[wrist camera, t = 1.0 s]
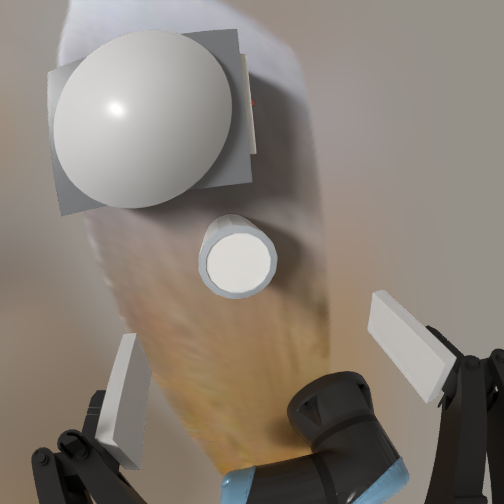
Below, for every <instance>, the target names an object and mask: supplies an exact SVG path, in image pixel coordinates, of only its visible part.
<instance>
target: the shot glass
mask: <svg viewBox="0 0 504 504" xmlns="http://www.w3.org/2000/svg"><path fill="white" fill-rule="evenodd" d="M277 258H278V257H277V254H276V250H275V247H274V244H273V243H272V241H271V240H270V239H269V238H268V237H267V236H266V235H265V233H264V232H262V231H261V230H260V229H259V228H257V227H256V226H255V225H254V224H253V223H251V222H250V221H249V220H248V219H246V218H244V217H242V216H240V215H236V214H226V215H223V216H221V217H218V218H216V219H215V220H214V221H213V222H212V223H211V224H210V225H209V227H208V229H207V231H206V233H205V236H204V240H203V243H202V247H201V250H200V254H199V273H200V275H201V277H202V279H203V282H204V284H205V285H206V286H207V287H208V288H210V289H211V290H212V291H213V292H214V293H215V294H218V295H220V296H223V297H226V298H229V299H238V298H246V297H249V296H252V295H254V294H257V293H259V292H260V291H261V290H262V289H263V288H265V287H266V286H267V285H268V284H269V283H270V281H271V279H272V277H273V276H274V274H275V272H276V266H277Z"/></svg>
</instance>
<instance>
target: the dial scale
mask: <svg viewBox="0 0 504 504" xmlns="http://www.w3.org/2000/svg"><path fill="white" fill-rule="evenodd" d="M47 91H48V93H47V96H48V124H49V137H50V148H51V157H52V165H53V173H54V179H55V185H56V191H57V196H58V201H59V206H60V211H61V216H64V215H69V214H72V213H77V212H81V211H85V210H90V209H94V208H99V207H103V206H108V205H110V206H113V207H120V208H142V207H149V206H153V205H157V204H160V203H163V202H165V201H168V200H170V199H172V198H174V197H176V196H178V195H180V194H182V193H183V192H184V191H190V190H197V189H204V188H211V187H218V186H226V185H233V184H242V183H250V182H252V172H251V161H250V154H256V144H255V133H254V123H253V113H252V107H253V106H254V100H251V93H250V84H249V74H248V65H247V55H246V54H240V52H239V42H238V33H237V29H226V30H212V31H202V32H193V33H185V34H178V33H173V32H169V31H160V30H148V31H139V32H134V33H130V34H126V35H123V36H120V37H118V38H115V39H113V40H111V41H109V42H107V43H106V44H104V45H102V46H101V47H99V48H98V49H96V50H95V51H94V52H92V53H91V54H90V55H89V56H88V57H85V58H83V59H80V60H77V61H75V62H72V63H69V64H67V65H64V66H62V67H60V68H57V69H55V70H53V71H50V72H48V89H47Z"/></svg>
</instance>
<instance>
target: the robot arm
mask: <svg viewBox="0 0 504 504" xmlns="http://www.w3.org/2000/svg"><path fill="white" fill-rule="evenodd" d="M367 330H368V332H369V333H370V334H371V335H372V336H373V338H374V339H375V340H376V341H377V342H378V344H379V345H380V346H381V347H382V349H383V350H384V351H385V352H386V353H387V355H388V356H389V357H390V358H391V360H392V361H393V362H394V363H395V365H396V366H397V367H398V368H399V369H400V371H401V372H402V373H403V375H404V376H405V377H406V378H407V379H408V381H409V382H410V383H411V385H412V386H413V387H414V388H415V390H416V391H417V392H418V394H419V395H420V396H421V397H422V399H423V400H424V401H425V403H428V402H430V401H432V400H433V399H435V398H437V397H438V394H439V393H440V391H441V389H442V391H443V392H444V395H443V397H442V399H441V401H440V402H439V404H438V408H439V407H440V405H441V404H442V413H441V423H440V431H439V438H438V445H437V451H436V457H435V462H434V467H433V472H432V476H431V481H430V485H429V489H428V493H427V496H426V500H425V503H424V504H487V503H488V500H487V497H486V496H484V495H483V494H482V489H483V481H484V473H485V463H486V451H487V457H488V464H489V471H490V479H491V491H492V504H504V350H503V349H495V350H493V351H492V353H491V355H490V357H489V358H486V359H481V360H480V359H479V358H477V357H475V356H472V355H467V356H464V355H463V354H462V353H461V352H460V351H459V350H458V349H457V348H456V347H455V346H453V345H452V344H451V343H450V342H449V341H447V339H446V338H445V337H444V336H442V334H441V333H440V332H439V331H438V330H436V329H434V328H432V327H430V326H426V327H424V326H423V325H422V324H421V323H420V322H419V321H418V320H417V319H416V318H415V317H414V316H412V315H411V314H410V313H409V312H408V311H407V310H406V309H405V308H404V307H403V306H401V305H400V304H399V303H398V302H397V301H396V300H395V299H394V298H393V297H391V296H390V295H389V294H388V293H387V292H385V290H380V291H376V292H373V295H372V303H371V310H370V316H369V322H368V328H367ZM151 371H152V370H151V367H150V365H149V363H148V360H147V358H146V356H145V353H144V351H143V348H142V346H141V343H140V341H139V338H138V335H137V333H132V334H124V335H123V338H122V341H121V344H120V347H119V350H118V353H117V357H116V360H115V363H114V366H113V369H112V373H111V376H110V380H109V383H108V387H107V390H97V391H96V393H95V394H94V395H93V396H92V398H91V401H90V404H89V408H88V411H87V416H86V418H85V422H84V426H83V429H82V433H81V432H80V431H77V430H67V431H65V432H63V433H62V434H61V435H60V437H59V438H58V443H57V445H58V449H59V450H60V451H61V452H59V453H53V452H52V451H51V450H50V449H48V448H45V447H44V448H39V449H37V450H36V451H35V452H34V453H33V455H32V461H31V462H32V469H33V475H34V480H35V485H36V490H37V495H38V499H39V503H40V504H93V502H92V499H91V497H90V495H91V496H92V498H93V499H94V500H95V502H96V503H97V504H147V503H146V502H145V501H144V500H143V498H142V497H141V496H140V495H139V494H138V493H137V492H136V491H135V489H134V488H133V487H132V486H131V485H130V483H129V482H128V481H127V480H126V479H125V477H124V476H123V475H122V474H121V473H120V472H119V465H121V466H122V467H123V468H124V469H129V470H141V462H142V449H143V437H144V427H145V416H146V409H147V400H148V392H149V385H150V378H151ZM496 386H497V389H498V391H496V390H495V387H496ZM287 415H288V418H289V421H290V424H291V425H292V427H293V428H294V429H295V431H296V432H297V433H298V434H299V435H300V436H301V437H302V438H303V439H304V440H305V442H306V443H307V444H308V445H309V446H310V448H311V450H312V453H313V454H310V455H305V456H302V457H298V458H293V459H289V460H285V461H280V462H275V463H270V464H265V465H259V466H256V465H255V466H252V467H249V468H244V469H239V470H233V471H230V472H228V473H227V474H226V475H225V476H224V478H223V481H222V486H221V504H382V503H383V502H385V501H387V500H388V499H389V498H391V497H392V496H394V495H395V494H396V493H398V492H399V491H400V490H401V489H402V488H403V487H404V486H405V485H406V484H407V482H408V480H409V473H408V470H407V468H406V466H405V464H404V462H403V458H402V457H400V455H399V453H398V452H397V450H396V449H395V447H394V446H393V444H392V442H391V441H390V439H389V437H388V436H387V434H386V432H385V431H384V429H383V428H382V426H381V425H380V423H379V421H378V420H377V418H376V416H375V414H374V410H373V404H372V399H371V393H370V388H369V386H368V384H367V383H366V381H365V380H364V378H363V377H362V376H361V375H360V374H358V373H356V372H350V371H345V372H337V373H333V374H329V375H327V376H324V377H321V378H319V379H317V380H315V381H313V382H312V383H310V384H308V385H307V386H305V387H304V388H303V389H301V390H300V391H299V392H298V393H297V394H296V395H295V396H294V397H293V398H292V400H291V401H290V403H289V405H288V408H287ZM89 493H90V494H89Z"/></svg>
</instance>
